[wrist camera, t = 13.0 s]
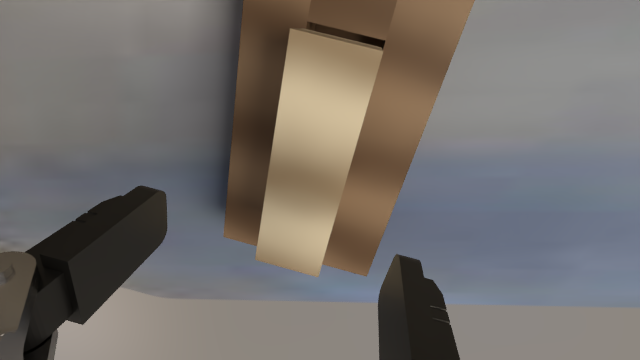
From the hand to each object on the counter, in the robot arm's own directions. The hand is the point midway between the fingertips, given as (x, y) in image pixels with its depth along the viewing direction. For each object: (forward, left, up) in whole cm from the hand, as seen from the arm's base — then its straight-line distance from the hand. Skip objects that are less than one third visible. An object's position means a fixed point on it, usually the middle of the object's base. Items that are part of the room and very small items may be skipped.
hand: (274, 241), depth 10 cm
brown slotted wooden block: (0, 0, -15) cm, 15 cm away
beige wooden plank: (0, 0, -14) cm, 14 cm away
